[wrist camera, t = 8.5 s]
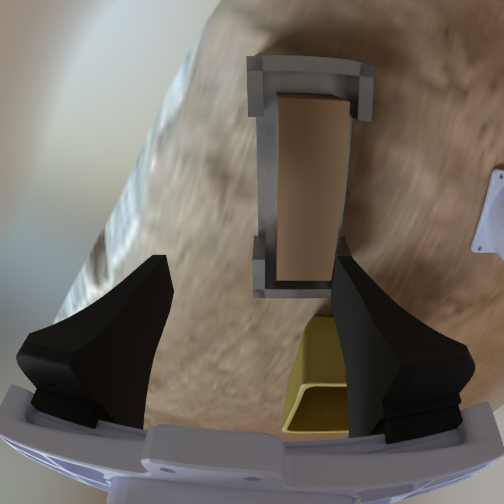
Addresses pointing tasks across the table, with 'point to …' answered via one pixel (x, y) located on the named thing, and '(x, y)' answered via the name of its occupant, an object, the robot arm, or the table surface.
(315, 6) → the table surface
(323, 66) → the bracket
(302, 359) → the flower pot
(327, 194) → the block
